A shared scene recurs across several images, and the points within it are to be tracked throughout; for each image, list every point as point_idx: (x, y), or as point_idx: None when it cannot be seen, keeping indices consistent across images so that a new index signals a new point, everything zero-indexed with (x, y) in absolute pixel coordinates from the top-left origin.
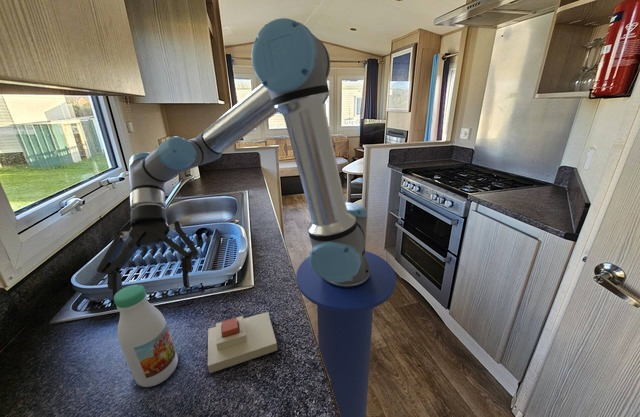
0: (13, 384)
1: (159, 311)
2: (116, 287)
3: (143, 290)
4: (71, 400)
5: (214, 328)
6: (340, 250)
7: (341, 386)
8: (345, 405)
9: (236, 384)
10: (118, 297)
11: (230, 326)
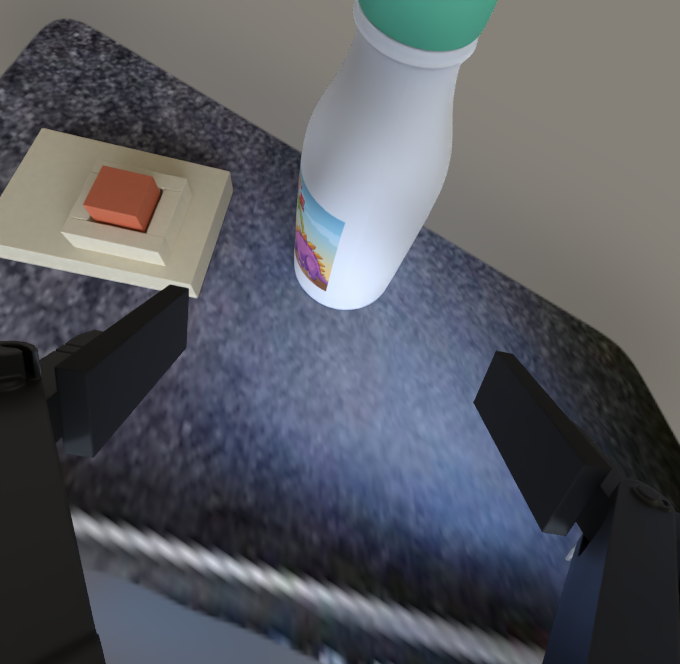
0: (656, 423)
1: (313, 127)
2: (529, 391)
3: None
4: (508, 297)
5: (172, 273)
6: None
7: None
8: None
9: (189, 138)
10: None
11: (119, 181)
